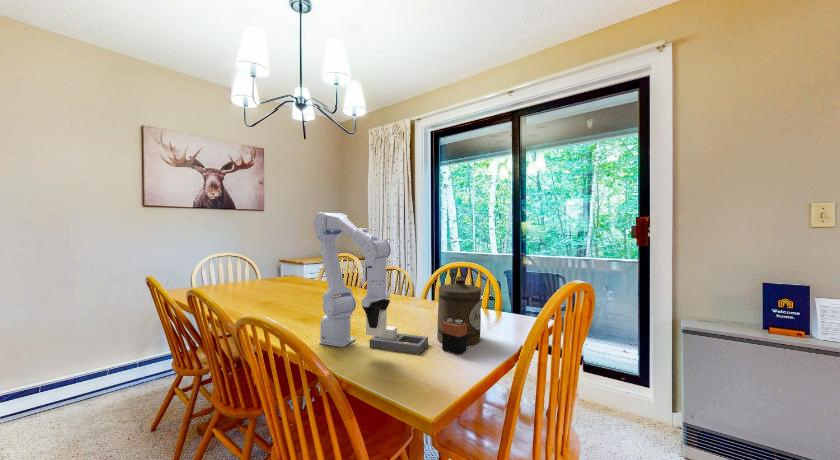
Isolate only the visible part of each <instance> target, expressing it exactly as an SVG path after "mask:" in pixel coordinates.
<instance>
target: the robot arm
mask: <svg viewBox="0 0 840 460" xmlns="http://www.w3.org/2000/svg"><path fill="white" fill-rule="evenodd" d="M313 226H314V232H315V237H316V239H317V240H318V244H319V249H320V254H321V258H322V264H323V267H324V272H325V278H326V282H327V286H328V287H327V288H328V289H327V290H326V291H325V292H324V294H323V295H322V309H323V313H324V314H325V315H323V316H322V318H321V321H320V327H319V329H320V332H319V333H320V339H319V340H320V341H319V342H318V343H319V344H320V345H326V346H333V347H340V348H344V347H346V346H347V345H349V344H351V343H353V342H355V340H356V337H351V330H352V329H351V324H352V323H351V318H352V317H351V316H352V315H353V313H354V311H355V310H356V306H357V300H356V298H355V297H354V294H353V291H352V289H351V288H349V287H348V286H346V285H345V282H344V278H343V273H342V268H341V264H340V260H339V255H338V250H337V246H336V240H337V239H339V238H340V237H341V235H342V234H343V233H344V234H345V235H347V236H349V237H350V238H351V239H350V241H351V242H352V244H353V245H355V246H356V247H357V248H358V249H359V250H361V251H362V254H363V257H364V259H365V261H364V262H365V263H364V264H365V265H366V295H365V297H364V298H363V299H361V307H362V309H363V311H364V313H365V316H366V315H367V319H368V323H369V327H370V328H377V324H378V316H379V312H380V309H381V310H387V309H388V307H389V305H390V303H391V300H390V298H391V297H390V290H387V258H388V259H389V257H390V255H391V244H390V242H388V241H387V240H386V239H379V238H378V237H377V236H376V235H373V234H372V233H371V232H369V229H368V228H366V227H359V228H358V227H357V226H356V225H355V224H354V223H353V222H352V221H351V220H350V219H349V216H348V215H347V214H345V213H344V212H337V213H336V212H323V211H319V212H317V213H316V215H315V216H314V219H313Z"/></svg>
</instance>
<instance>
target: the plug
mask: <svg viewBox="0 0 840 460" xmlns="http://www.w3.org/2000/svg"><path fill="white" fill-rule="evenodd" d="M365 317H366V318H365V335H366V336H372V337H374V336H380V337H382V336H383V335H384V334H386V326H387V309H386V310H381V309H380V312H379V316H378V324H377V328H370V327H369V323H368V319H367V315H366V314H365Z"/></svg>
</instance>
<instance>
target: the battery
mask: <svg viewBox="0 0 840 460" xmlns="http://www.w3.org/2000/svg"><path fill="white" fill-rule="evenodd" d="M441 349H442V350H443V351H445V352H448V353H451V354H454V355H458V356H459V355H462V354H464V353H466V352H467V324H466V323H464V322H462V320H452V318H448V320H447V321H444V322H443V325H442V343H441Z"/></svg>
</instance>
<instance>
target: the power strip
mask: <svg viewBox="0 0 840 460" xmlns="http://www.w3.org/2000/svg"><path fill="white" fill-rule="evenodd" d="M427 346H429V337H428V336H425V335H424V336H423V335H417V334H416V335H414V334H406V333H400V332H398V326H392V325H386V334H384V335H383V336H382V337H380V336H372V337H371V338H370V339H369V348H373V349H381V350H385V351H386V350H388V351H393V352H394V351H395V352H400V353H401V352H402V353H408V354H415V355H420V354H421V353H422V352H423V351H424V350H425V348H426V347H427Z"/></svg>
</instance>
